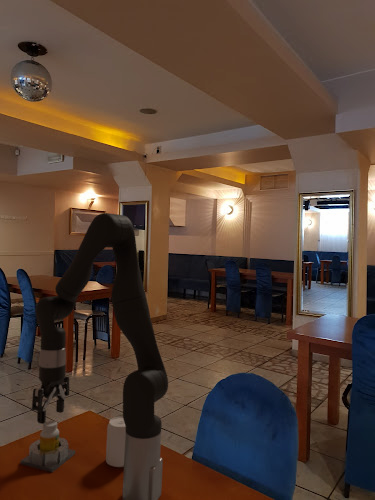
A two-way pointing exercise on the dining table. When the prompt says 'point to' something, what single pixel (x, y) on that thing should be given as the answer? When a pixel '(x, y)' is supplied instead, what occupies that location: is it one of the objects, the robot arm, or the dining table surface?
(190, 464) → the dining table surface
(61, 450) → the rosette collar
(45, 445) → the supplement bottle
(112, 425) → the beverage can
